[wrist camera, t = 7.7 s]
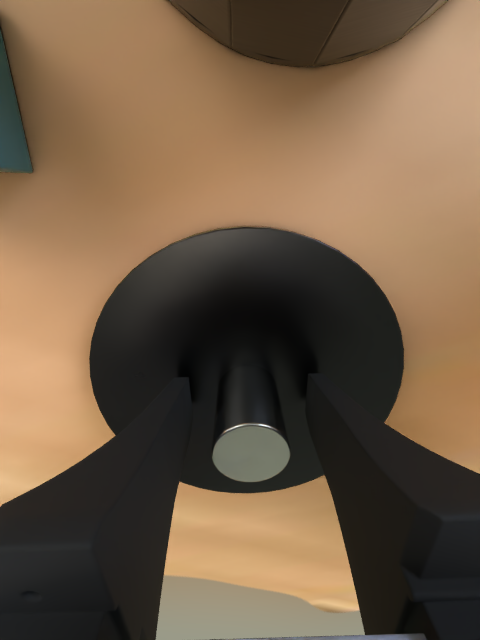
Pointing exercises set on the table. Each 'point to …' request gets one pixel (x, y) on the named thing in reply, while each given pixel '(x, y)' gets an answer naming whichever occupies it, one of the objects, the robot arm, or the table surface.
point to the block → (11, 123)
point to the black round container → (306, 26)
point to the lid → (246, 349)
